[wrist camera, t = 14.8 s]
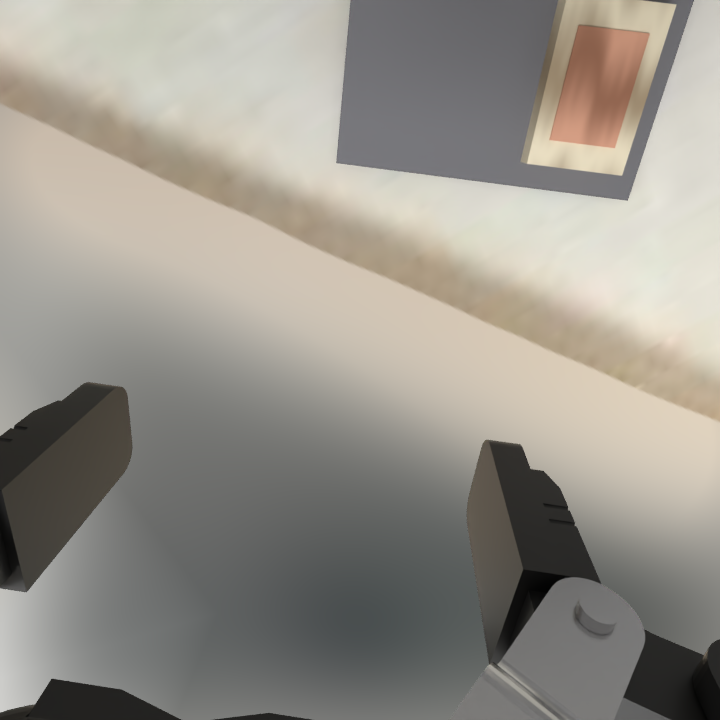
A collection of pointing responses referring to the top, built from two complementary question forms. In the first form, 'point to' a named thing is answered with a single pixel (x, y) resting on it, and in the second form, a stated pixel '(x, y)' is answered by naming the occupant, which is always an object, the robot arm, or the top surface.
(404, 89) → the mat
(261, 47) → the top surface
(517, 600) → the robot arm
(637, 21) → the wooden block
